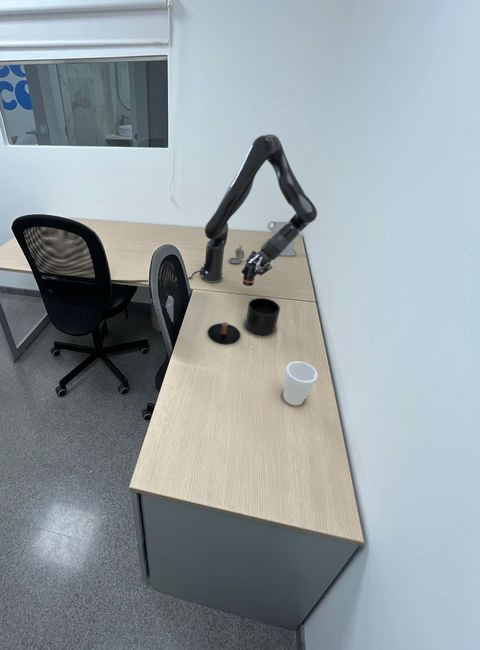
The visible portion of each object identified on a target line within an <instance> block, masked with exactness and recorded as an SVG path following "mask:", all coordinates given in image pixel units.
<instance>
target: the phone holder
mask: <svg viewBox="0 0 480 650" xmlns="http://www.w3.org/2000/svg"><path fill="white" fill-rule="evenodd" d="M288 222H289V221H278V220H277V221H273V220H272V221H269V222H268V223H267V229H268V230H269V231H270V232H272V234H273V235H274V234H276V233H277V232H278V231H279V230H280V229H281V228H282V227H283V226H284V225H285V224H286V223H288ZM270 224H273V225H272V227H271V226H270ZM269 239H270V238H267V239H265V243H266V242H267V241H268V240H269ZM294 244H295V239H294V240H293V241H292V242H291V243H290V244H289V245H288V246H287V248H286V249H285V250H284V251H283V252H282V253H281V254H280V255H279V256H283V257H284V256H288V257H294V256H295V255H296V253H295V251H294Z"/></svg>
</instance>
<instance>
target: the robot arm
mask: <svg viewBox="0 0 480 650" xmlns="http://www.w3.org/2000/svg"><path fill="white" fill-rule="evenodd" d="M266 162H268V164H270V166H271V167H272V169H273V171H274V173H275V175H276V180H277V185H278V187H279V190H280V192H281V193H282V196H283V197H284V199H285V201H286V202H287V204H288V205H289V206H290V207H292V209H293V210H294V212H295V214H294V215H293V216H292V217H291V218H290V219H289V220H288V221H287V222H288V223H286V224H285V225H284V226H283V227H282V228H281V229H280V230H279V231H278V232H277V233H276V234H274V233H273V235H272V236H271V237H270V238H268V239H269V240H268V241H267V242H266V241H265V243H264V244H263V245H262V246H261V247H260V250H259V251H258V252H257V251H255V250H252V251H251V253H250V254H249V256H248V257H247V259H246V260H245V263H254V264H256V268H255V269H254V272H253V271H252V272H251V273H250V274H249V275H248V276H247V278H248V279H249V280H251V279H253V278H254V277H255V278H256V276H258V275H259V276H263V275H264V274H266V273H268V272H269V271H270V270H271V269H273V266H272V265H271V262H272V261H275V260H276V259H277V258H279V256H281V255H280V254H281V253H282V252H283V251H284V250H285V249H286V248H287V246H288V245H289V244H290V243H291V242H292V241H293V240H294V241H295V239H297V237H298V236H299V235H300V234H301V232H302V231H303V230H305V228H306V227H308V226H309V225H310V224H311V223H313V222H314V221H315V220H316V219H317V218H318V211H317V208H316V206H315V204H314V203H313V201H311V199H310V198H309V196H307V194H306V193H305V191H304V189H303V187H302V185H301V183H300V181H298V179H297V177H296V176H295V174H294V171H293V170H292V167H291V165H290V163H289V161H288V159H287V156H286V153H285V150H284V147H283V144H282V143H281V140H280V138H279V137H278V136H277V135H275V134H272V133H271V134H262V135H259V136H258V137H256V138H255V139H254V140H253V142H252V144H251V146H250V148H249V150H248V152H247V154H246V157H245V159H244V161H243V163H242V164H241V166H240V168H239V170H238V171H237V173H236V174H235V176H234V179H233V180H232V181H231V183H230V185H229V187H228V188H227V190H226V192H225V194H224V196H223V197H222V199H221V201H220V203H219V205H218V207H217V208H216V210H215V212H214V213H213V214H212V216H211V218H209V220H208V222H207V223H206V224H205V227H204V234H205V236H206V238H207V239H208V241H207V242H206V245H205V259H204V263H203V266H201V267H200V270H197V271H195V272H193V273H192V274H191V276H189V277H187V278H188V279H187V280H190V279H192V278H193V277H194V275H196V274H197V273H199V276H202V280H204V281H206V282H208V283H219V282H220V281H221V280H222V276H223V265H224V255H225V247H226V245H227V239H228V234H229V224H228V222H229V220H230V219H231V218H232V217H233V216H234V214H235V213H236V212H237V211H238V210H239V209H240V208H241V207H242V205H243V204H244V203H245V201H246V200H247V199H248V197H249V195H250V194H251V191H252V189H253V186H254V181H255V178H256V176H257V174H258V172H259V171H260V169H261V168H262V166H263V165H264V164H265V163H266ZM244 270H245V266H244V267H243V268H242V269H241V271H240V273H242V274H243V275H244ZM255 278H254V279H255ZM111 280H112V281H111V282H123V283H124V282H125V283H127V282H128V283H137V282H139V283H140V282H141V283H142V282H149V281H148V280H149V279H140V280H139V279H137V280H136V279H135V280H133V279H131V280H130V279H129V280H126V279H111ZM146 280H147V281H146Z"/></svg>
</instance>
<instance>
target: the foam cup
mask: <svg viewBox="0 0 480 650" xmlns="http://www.w3.org/2000/svg"><path fill="white" fill-rule="evenodd" d="M318 376H319V374H318V372H317V369H315V368H314V366H313V365H311V364H310V363H307V362H304V361H300V360H296V361H291V362H290V363H288V364H287V366H286V368H285V371H284V384H283V385H284V386H283V400H284V401H285V402H286V403H288V404H289V405H292V406H300V405H301V404H302V405H303V402H304V401H305V399H306V397H307V396H308V394H309V393H310V391H311V389H312V388H313V386H314V385H315V384H316V383H317V378H318Z"/></svg>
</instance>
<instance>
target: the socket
mask: <svg viewBox="0 0 480 650" xmlns="http://www.w3.org/2000/svg"><path fill="white" fill-rule="evenodd" d="M244 267H245V270H244V274H243V278H242V284H243V285H244V286H246V287H252V286H254V283H255V278H256V276H255V277H254V278H253V279H251V280H249V279H248V278H247V276H248V275H249V274H250V273H251V272H252V271H253V272H254V269H255V268H256V264H254V263H247V262H245V265H244Z"/></svg>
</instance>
